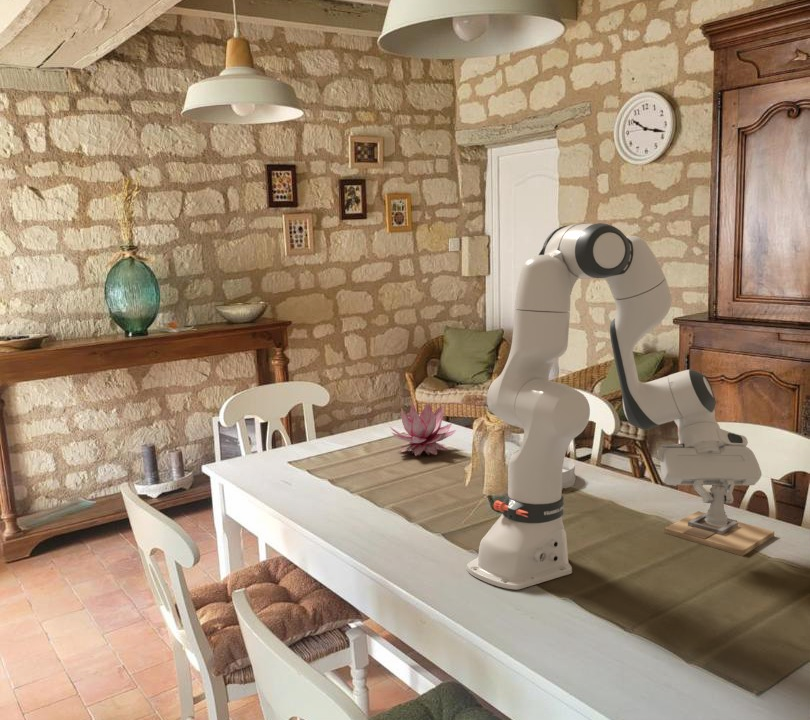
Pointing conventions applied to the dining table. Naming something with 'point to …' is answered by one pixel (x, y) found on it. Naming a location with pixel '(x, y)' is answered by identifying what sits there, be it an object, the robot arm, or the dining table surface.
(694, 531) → the oak board
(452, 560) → the dining table surface
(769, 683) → the dining table surface
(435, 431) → the decorative flower
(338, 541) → the dining table surface
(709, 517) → the rook chess piece
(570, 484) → the dish
